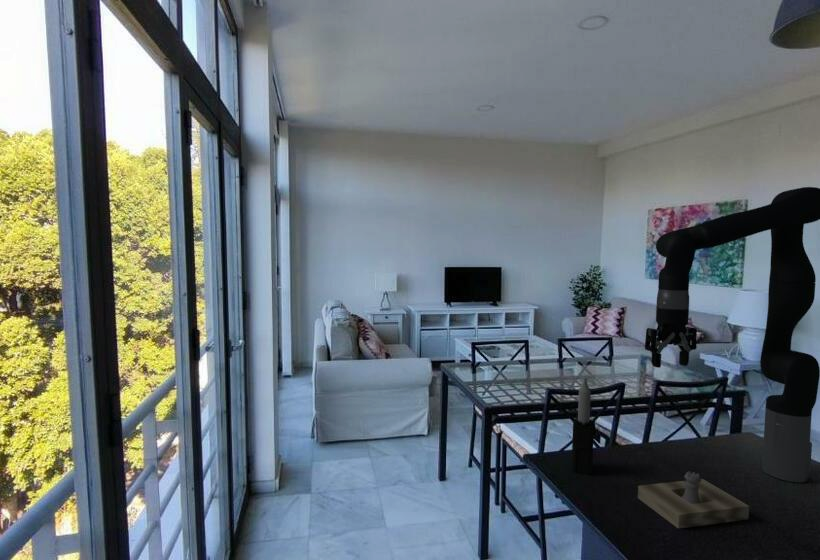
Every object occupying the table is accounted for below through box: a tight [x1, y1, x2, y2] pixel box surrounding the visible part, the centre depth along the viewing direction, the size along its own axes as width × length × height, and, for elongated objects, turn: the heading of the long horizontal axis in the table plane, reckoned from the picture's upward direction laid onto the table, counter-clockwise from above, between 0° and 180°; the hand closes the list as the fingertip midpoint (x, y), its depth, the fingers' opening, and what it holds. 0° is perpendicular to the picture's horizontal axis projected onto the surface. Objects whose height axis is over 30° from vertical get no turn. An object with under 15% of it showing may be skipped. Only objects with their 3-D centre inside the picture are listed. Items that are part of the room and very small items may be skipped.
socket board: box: [637, 478, 750, 529], centre depth 101 cm, size 18×12×3 cm, turn 102°
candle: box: [570, 377, 595, 476], centre depth 118 cm, size 5×5×25 cm
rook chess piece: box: [681, 471, 702, 504], centre depth 101 cm, size 4×4×8 cm
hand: (669, 366), depth 119 cm, fingers open, 8 cm apart
